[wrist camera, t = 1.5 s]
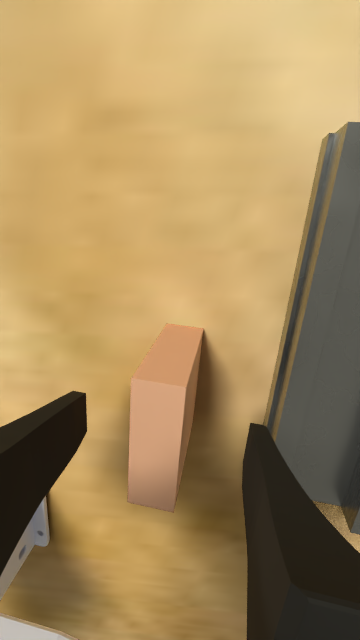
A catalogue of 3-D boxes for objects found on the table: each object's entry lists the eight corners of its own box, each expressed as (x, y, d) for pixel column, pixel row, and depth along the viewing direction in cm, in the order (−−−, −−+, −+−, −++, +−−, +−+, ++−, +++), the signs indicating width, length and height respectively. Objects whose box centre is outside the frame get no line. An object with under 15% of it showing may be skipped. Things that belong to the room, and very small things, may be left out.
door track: (357, 495, 18) (375, 537, 15) (252, 474, 19) (255, 511, 16) (485, 147, 12) (547, 129, 9) (322, 139, 13) (341, 121, 10)
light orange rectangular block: (192, 421, 18) (173, 512, 13) (160, 415, 18) (127, 502, 13) (203, 328, 16) (186, 387, 11) (166, 323, 16) (131, 378, 11)
